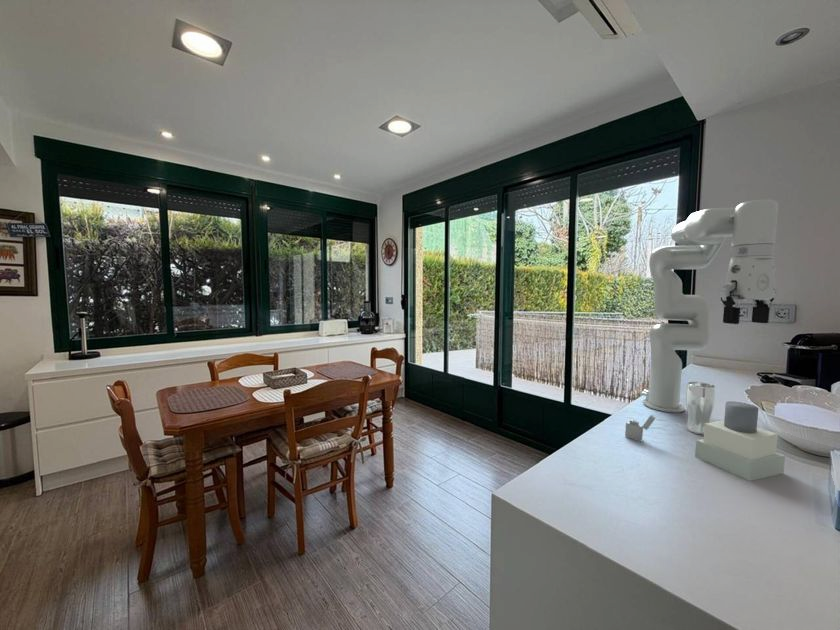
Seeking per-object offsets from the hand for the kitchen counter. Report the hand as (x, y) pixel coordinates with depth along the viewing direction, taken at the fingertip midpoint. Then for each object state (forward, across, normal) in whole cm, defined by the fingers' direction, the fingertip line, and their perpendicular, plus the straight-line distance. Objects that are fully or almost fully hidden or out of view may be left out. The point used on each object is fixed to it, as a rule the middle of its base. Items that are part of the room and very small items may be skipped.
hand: (745, 323), depth 84 cm
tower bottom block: (+37, 0, -1) cm, 37 cm away
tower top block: (+32, 0, -1) cm, 32 cm away
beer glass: (+36, +11, +17) cm, 42 cm away
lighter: (+36, -12, +16) cm, 42 cm away
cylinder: (+27, 0, -1) cm, 27 cm away
